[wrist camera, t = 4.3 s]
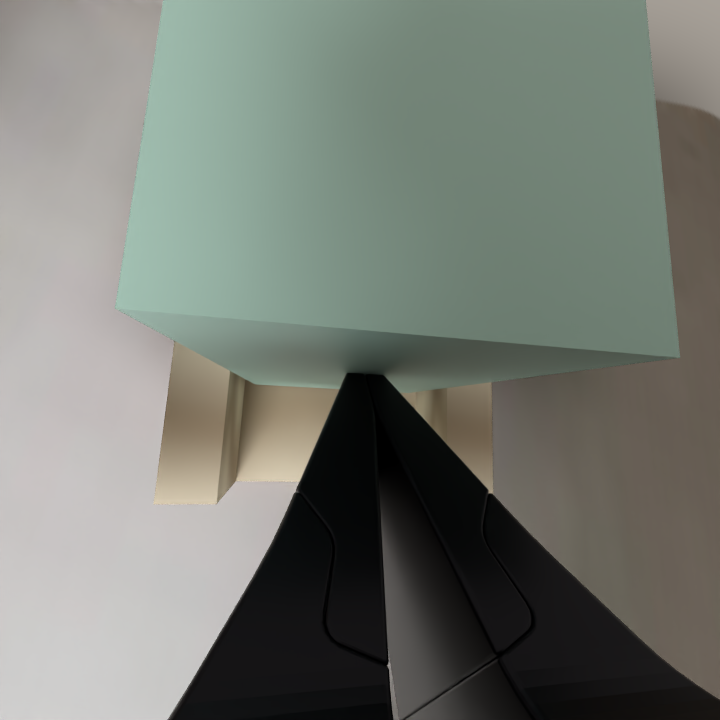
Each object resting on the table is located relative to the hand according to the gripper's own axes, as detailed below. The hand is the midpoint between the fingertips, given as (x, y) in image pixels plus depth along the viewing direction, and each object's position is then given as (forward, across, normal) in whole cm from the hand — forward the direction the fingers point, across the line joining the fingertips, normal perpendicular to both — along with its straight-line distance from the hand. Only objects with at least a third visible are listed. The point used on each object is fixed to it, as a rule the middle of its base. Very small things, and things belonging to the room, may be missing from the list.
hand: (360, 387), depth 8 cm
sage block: (+6, 0, +2) cm, 7 cm away
